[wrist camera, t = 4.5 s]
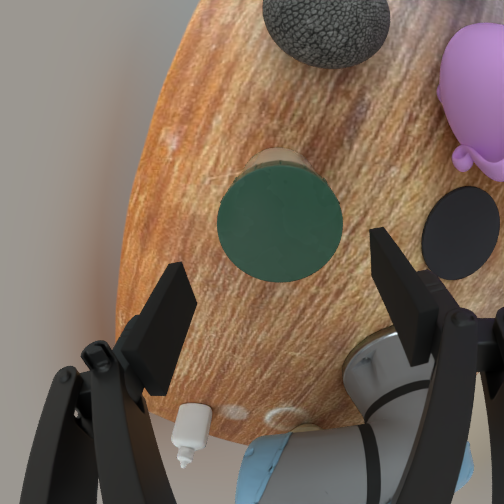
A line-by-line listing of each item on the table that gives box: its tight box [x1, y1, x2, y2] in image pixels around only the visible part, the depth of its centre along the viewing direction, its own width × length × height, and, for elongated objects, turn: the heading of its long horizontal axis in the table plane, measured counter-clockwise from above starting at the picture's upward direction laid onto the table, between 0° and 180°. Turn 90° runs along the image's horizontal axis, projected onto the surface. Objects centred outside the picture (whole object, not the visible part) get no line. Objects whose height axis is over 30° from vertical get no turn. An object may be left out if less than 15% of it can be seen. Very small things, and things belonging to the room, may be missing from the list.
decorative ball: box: [263, 0, 390, 69], centre depth 18 cm, size 10×10×10 cm
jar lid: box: [217, 159, 343, 282], centre depth 21 cm, size 8×8×2 cm
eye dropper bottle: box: [171, 403, 212, 468], centre depth 42 cm, size 4×6×12 cm
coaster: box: [422, 186, 500, 280], centre depth 30 cm, size 12×12×1 cm
